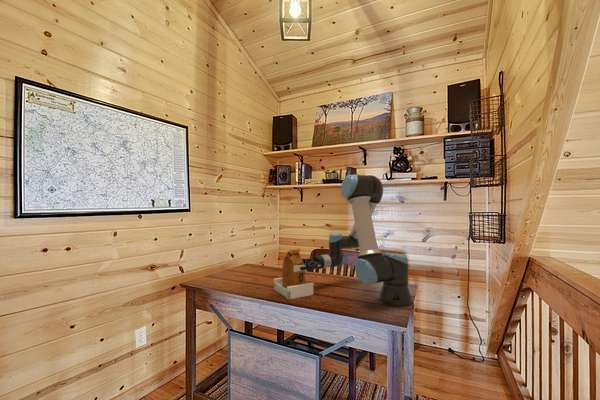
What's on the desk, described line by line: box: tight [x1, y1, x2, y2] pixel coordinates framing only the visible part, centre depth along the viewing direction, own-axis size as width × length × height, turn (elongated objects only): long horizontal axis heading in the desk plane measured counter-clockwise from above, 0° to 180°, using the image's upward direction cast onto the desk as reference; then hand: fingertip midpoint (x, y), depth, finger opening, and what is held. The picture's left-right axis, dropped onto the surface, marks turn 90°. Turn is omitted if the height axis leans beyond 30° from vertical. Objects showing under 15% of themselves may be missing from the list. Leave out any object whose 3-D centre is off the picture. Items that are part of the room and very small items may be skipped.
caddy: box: [273, 277, 314, 301], centre depth 151 cm, size 18×15×6 cm
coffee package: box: [281, 247, 306, 289], centre depth 152 cm, size 10×12×22 cm
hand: (288, 266), depth 150 cm, fingers open, 13 cm apart
